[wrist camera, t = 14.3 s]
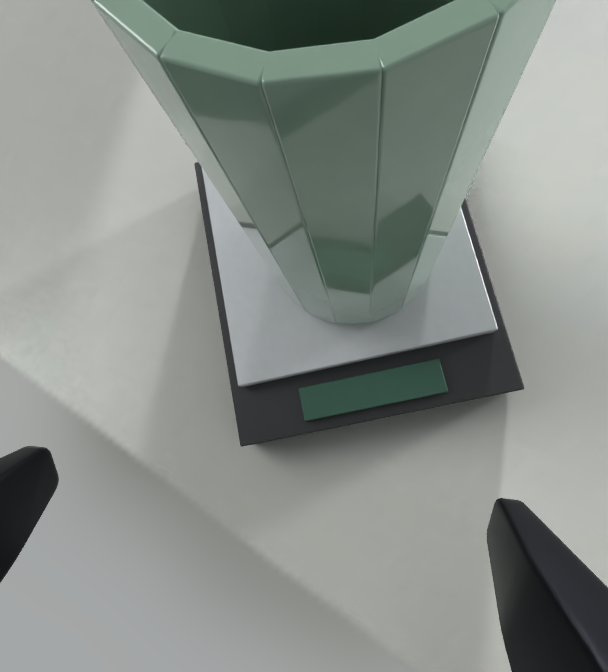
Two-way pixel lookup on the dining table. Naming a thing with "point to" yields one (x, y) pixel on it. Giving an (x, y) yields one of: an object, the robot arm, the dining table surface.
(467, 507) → the dining table surface
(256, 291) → the scale
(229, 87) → the tumbler
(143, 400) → the dining table surface
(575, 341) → the dining table surface
